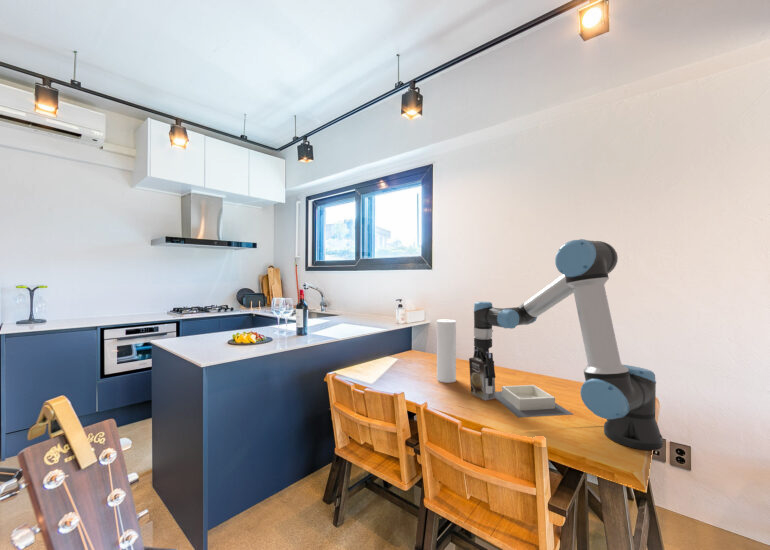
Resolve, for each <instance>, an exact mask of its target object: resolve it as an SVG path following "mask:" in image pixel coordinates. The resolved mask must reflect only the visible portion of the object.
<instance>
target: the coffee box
mask: <svg viewBox="0 0 770 550" xmlns="http://www.w3.org/2000/svg"><path fill="white" fill-rule="evenodd" d="M468 362H469V364H468V365H469V380H470V381H469V382H470V385H469V386H470V394H471V395H473V396H475V397H477V398H479V399H481V400H483V401H489V400H493V399H496V396H495V392H496V377H495V378H493V393H490V394H486V378H485V377H486V372H485V366H487V362H483V361H482V360H481V359H480V358H477V357H469V358H468ZM493 363H494V364H495V361H494V360H493Z"/></svg>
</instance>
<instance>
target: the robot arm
mask: <svg viewBox="0 0 770 550" xmlns="http://www.w3.org/2000/svg"><path fill="white" fill-rule="evenodd" d="M554 260H555V261H554V262H555V263H554V264H555V266H556V269H557V271H558V272H559V273H561V275H559V276H558V277H557V278H556V279H555V280H553V281H552V282H550V283H549V284H547V285H546V286H545V287H543V288H542V289H541V290H540V291H538V292H537V293H535V294H534V295H533V296H531V297H530V298H528V299H527V300H526V301H524V303H522V304H521V305H519V306H516V307H506V308H502V307H501V308H499V307H493V303H492V302H490V301H476V302H475V303H474V305H473V307H474V308H473V324H474V325H473V336H474V338H473V345H474V347H473V351H474V352H473V357H477V358H480V359H481V360H482V361H483V362H487V366H485V372H486V377H485V378H486V394H490V393H493V378H495V379H496V372H495V362H494V363H493V361H494V354H493V352H490V349H491V348H492V347H493V333H494V332H493V331H494V330H493V326H494V327H498V328H499V327H500V328H503V329H511V330H513V329H515V328H516V327H517V326H523V325H526V326H527V325H530V324H533V323H535V322H536V321H537V319H538V317H540V316H541V315H542V314H544V313H545V312H547V311H548V310H550V309H551V308H553V307H554V306H556V305H557V304H559V303H560V302H562V301H563V300H565V299H566V298H568V297H569V296H571V295H572V294H573V296H574V301H575V305H576V311H577V316H578V322H579V326H580V331H581V336H582V342H583V347H584V352H585V357H586V362H587V366H585V368H584V369H583V375H584V380H585V381H584V382H583V384H582V385H581V387H580V393H579V394H580V397H581V400H582V403H583V405H585V407H586V408H587V409H588V410H590V412H591V413H592V414H594V415H595V416H597V417H599V418H601V419H606V421H605V422H604V424H603V434H604V435H605V436H606V437H607V438H608V439H610V440H611V441H613V442H614V443H617V444H620V445H623V446H625V447H629V448H632V449H636V450H643V451H657V450H661V449H662V448H663V443H664V441H663V436H662V434H661V431H660V429H659V428H660V427H659V425H658V422H657V420H656V395H657V394H656V390H657V387H656V386H657V385H656V384H657V381H656V374H655V372H653V371H652V370H650V369H646V368H644V367H640V366H639V367H638V366H635V365H629V364H622V362H621V357H620V354H619V353H620V352H619V348H618V344H617V339H616V334H615V329H614V328H615V327H614V324H613V320H612V315H611V314H612V313H611V310H610V306H609V305H610V304H609V301H608V295H607V292H606V287H605V285H606V282H608V280H609V274H610V273H611V272H612V271H613V270H614V269H615V268H616V266H617V265H618V261H619V260H618V252H617V251H616V249H615V248H614V247H613V246H612V245H611V244H609V243H607V242H605V241H599V240H588V239H581V238H580V239H573V240H570V241H567V242H565V243H564V244H562V245H561V246H560V248H559V249H558V251H557V252H556V254H555V259H554Z"/></svg>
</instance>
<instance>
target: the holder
mask: <svg viewBox="0 0 770 550" xmlns="http://www.w3.org/2000/svg"><path fill="white" fill-rule="evenodd" d="M501 391H502V397H503V398H505V399H506V400H507V401H508V402H510V403H511V404H512V405H513V406H515V407H516V408H517V409H518V410H538V409H555V403H556V397H554V396H553V395H551V394H550V393H548V392H546V390H543V389H542V388H540V387H538V386H536V385H535V384H527V385H504V386H503V385H502V386H501Z"/></svg>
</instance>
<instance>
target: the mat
mask: <svg viewBox="0 0 770 550" xmlns="http://www.w3.org/2000/svg"><path fill="white" fill-rule="evenodd" d="M495 396H496V398H495V400H497V401H498V402H499V403H500V404H501V405H503V406H504V407H505V408H506V409H507V410H508V411H510V412H511V413H512V414H513V415H515V416H516V417H517V419H519V418H532V417H552V416H553V417H554V416H570V415H574V413H573V412H571V411H569V410H567V409H566V408H565V407H563V406H561V405H560V404H558V403H556V402H555V409H538V410H518V409H517V408H516V407H515V406H513V405H512V404H511V403H510V402H508V401H507V400H506V399H505V398H503V397H502V390H501V391H495Z"/></svg>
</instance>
